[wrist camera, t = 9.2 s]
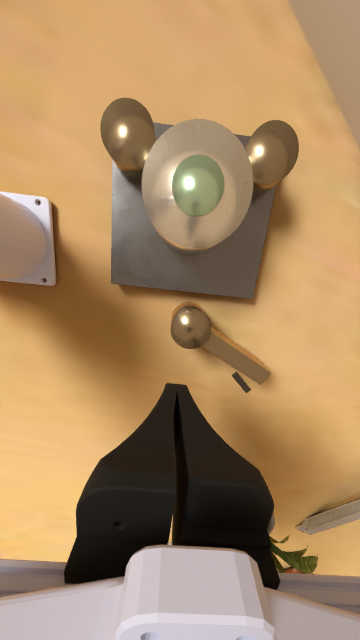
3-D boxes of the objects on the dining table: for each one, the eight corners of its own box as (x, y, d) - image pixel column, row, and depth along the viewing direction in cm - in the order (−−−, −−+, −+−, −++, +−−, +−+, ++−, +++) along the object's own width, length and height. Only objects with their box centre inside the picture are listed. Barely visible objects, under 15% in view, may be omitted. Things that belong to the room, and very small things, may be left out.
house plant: (271, 406, 24) (455, 675, 8) (295, 480, 27) (459, 770, 11) (168, 441, 25) (153, 732, 9) (204, 507, 28) (237, 803, 13)
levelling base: (114, 380, 23) (87, 427, 16) (118, 130, 16) (77, 32, 9) (249, 392, 23) (278, 441, 17) (305, 156, 17) (389, 82, 10)
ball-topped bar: (165, 322, 20) (162, 334, 17) (184, 295, 20) (186, 301, 16) (241, 372, 22) (254, 394, 18) (261, 349, 21) (280, 366, 18)
